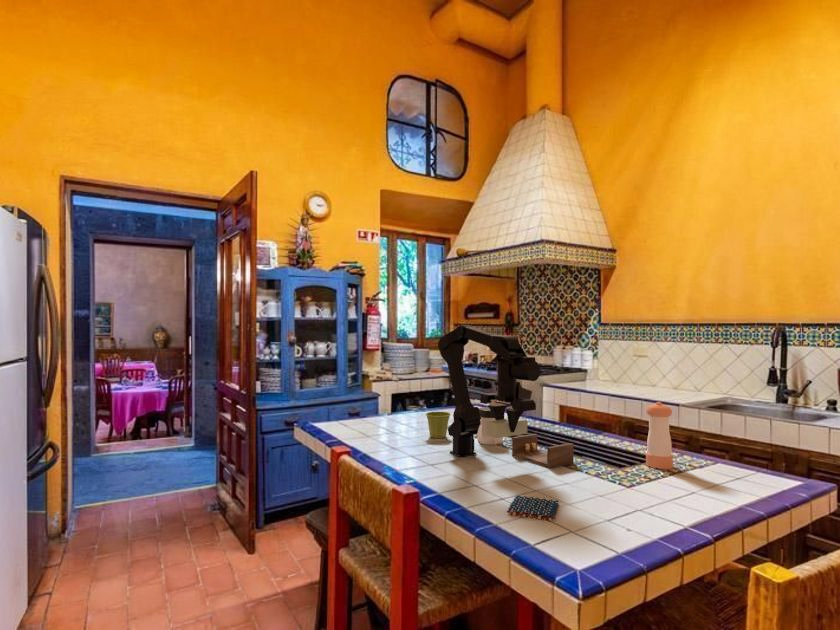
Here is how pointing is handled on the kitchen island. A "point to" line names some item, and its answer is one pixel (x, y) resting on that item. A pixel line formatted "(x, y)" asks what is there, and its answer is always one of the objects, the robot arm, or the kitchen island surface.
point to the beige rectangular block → (505, 428)
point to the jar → (482, 437)
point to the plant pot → (438, 423)
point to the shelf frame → (542, 452)
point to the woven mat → (533, 508)
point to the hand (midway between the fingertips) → (507, 430)
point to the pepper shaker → (659, 437)
